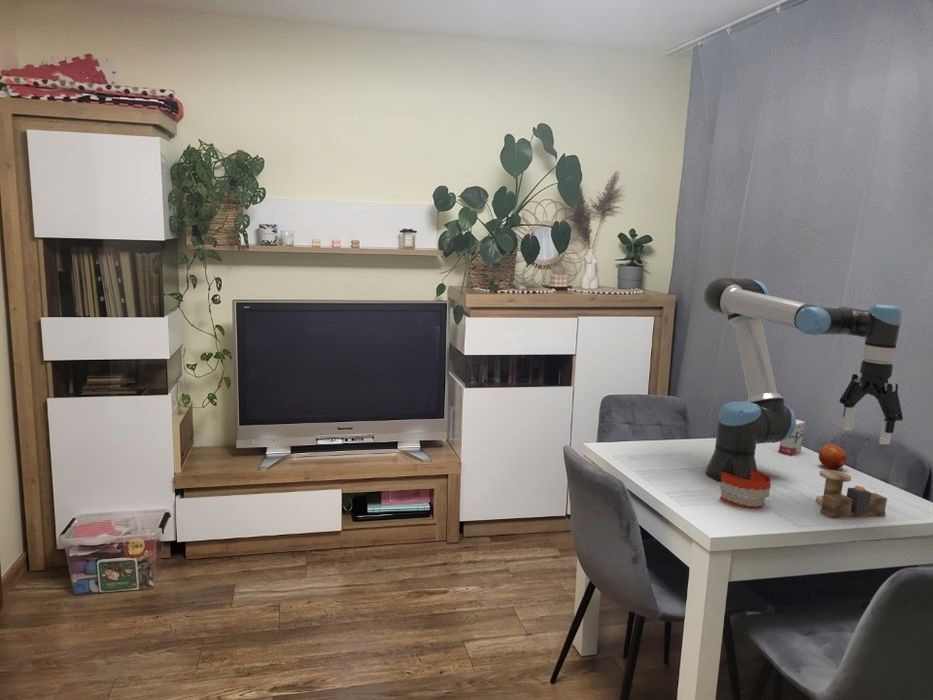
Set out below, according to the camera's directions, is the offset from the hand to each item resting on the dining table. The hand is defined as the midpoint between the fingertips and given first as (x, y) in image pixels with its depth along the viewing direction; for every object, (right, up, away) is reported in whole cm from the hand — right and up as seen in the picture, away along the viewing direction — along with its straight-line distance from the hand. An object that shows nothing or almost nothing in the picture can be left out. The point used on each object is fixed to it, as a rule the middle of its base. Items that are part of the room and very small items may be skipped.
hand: (865, 436), depth 197 cm
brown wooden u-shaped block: (-4, -21, -1) cm, 22 cm away
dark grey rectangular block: (-4, -20, -2) cm, 21 cm away
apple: (+13, -16, +43) cm, 48 cm away
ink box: (+6, -13, +60) cm, 62 cm away
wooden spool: (-6, -20, +6) cm, 22 cm away
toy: (-32, -19, +2) cm, 37 cm away
